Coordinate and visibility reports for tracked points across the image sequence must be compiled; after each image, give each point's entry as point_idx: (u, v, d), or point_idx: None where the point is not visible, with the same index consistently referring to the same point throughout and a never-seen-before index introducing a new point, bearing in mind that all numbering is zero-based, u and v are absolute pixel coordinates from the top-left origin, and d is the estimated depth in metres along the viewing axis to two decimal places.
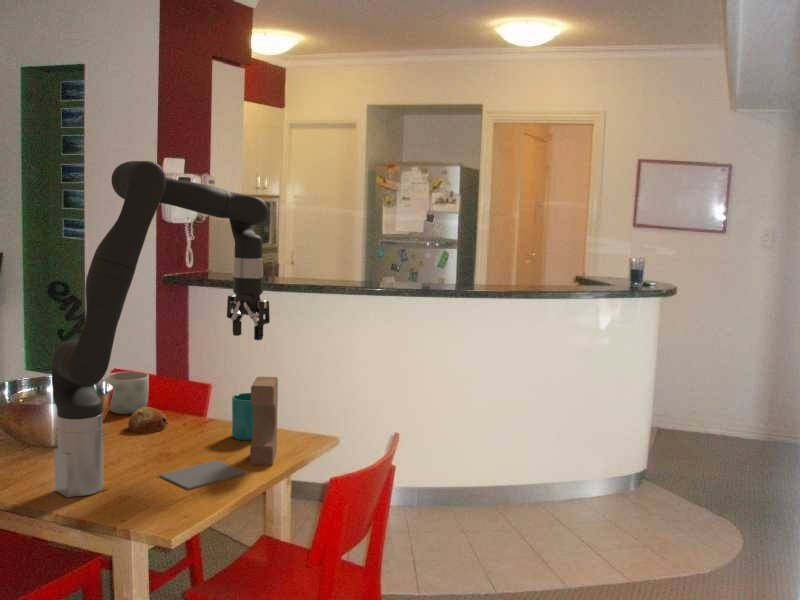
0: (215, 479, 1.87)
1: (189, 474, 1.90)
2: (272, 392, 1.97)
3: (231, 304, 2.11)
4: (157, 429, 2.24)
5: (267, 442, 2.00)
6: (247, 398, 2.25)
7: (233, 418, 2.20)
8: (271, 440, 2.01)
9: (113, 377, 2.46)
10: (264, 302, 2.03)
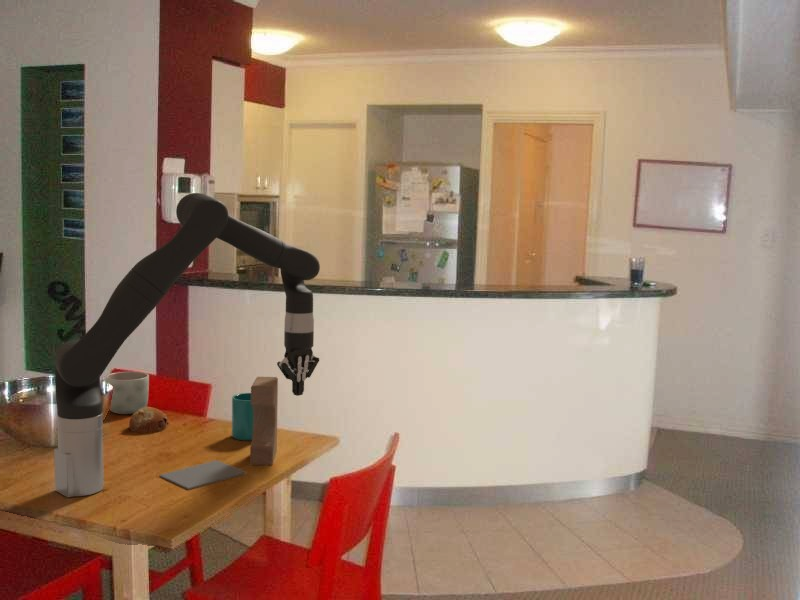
0: (215, 479, 1.87)
1: (189, 474, 1.90)
2: (272, 392, 1.97)
3: None
4: (158, 429, 2.25)
5: (267, 442, 2.00)
6: (247, 398, 2.25)
7: (233, 418, 2.20)
8: (271, 440, 2.01)
9: (113, 377, 2.46)
10: None
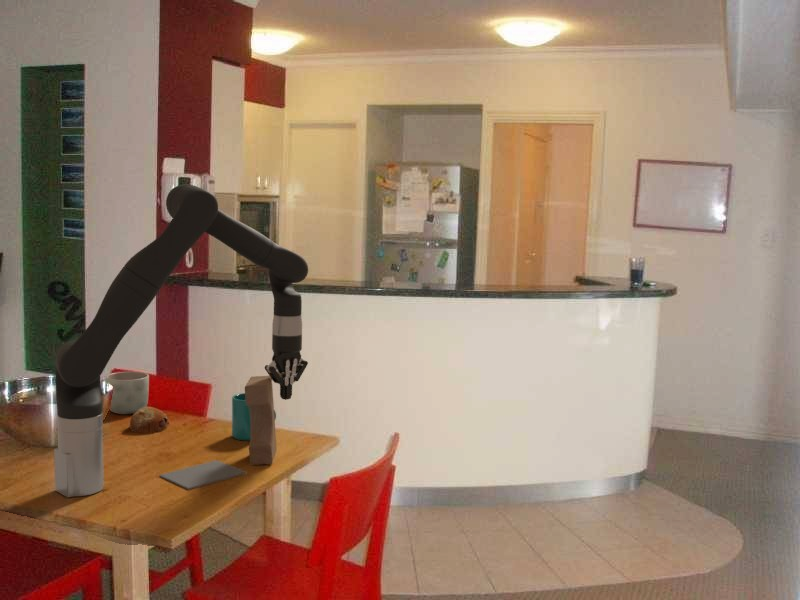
0: (215, 479, 1.87)
1: (189, 474, 1.90)
2: (266, 390, 1.97)
3: None
4: (158, 429, 2.25)
5: (265, 441, 2.00)
6: None
7: (233, 418, 2.20)
8: (269, 439, 2.01)
9: (113, 377, 2.46)
10: None
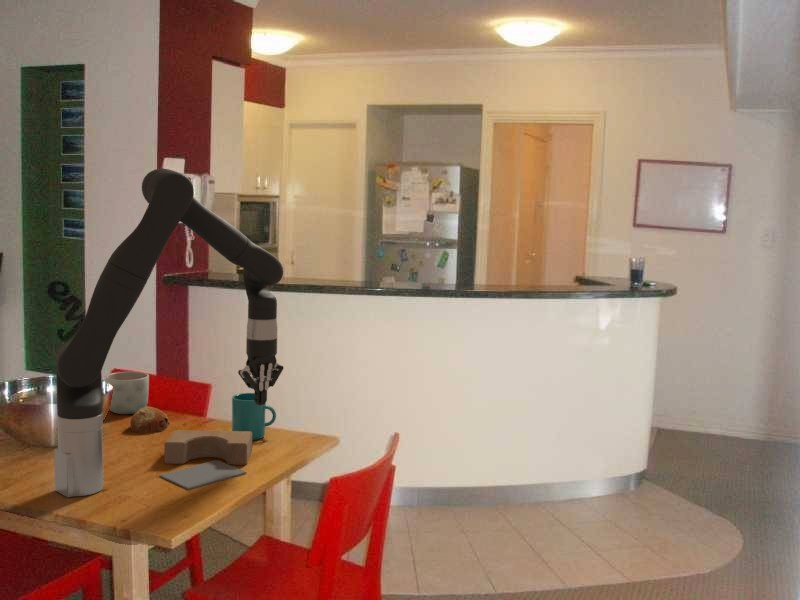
0: (215, 479, 1.87)
1: (189, 474, 1.90)
2: (170, 443, 1.97)
3: None
4: (159, 429, 2.25)
5: (226, 446, 2.00)
6: (247, 398, 2.25)
7: (233, 418, 2.20)
8: (225, 442, 2.01)
9: (113, 377, 2.46)
10: None
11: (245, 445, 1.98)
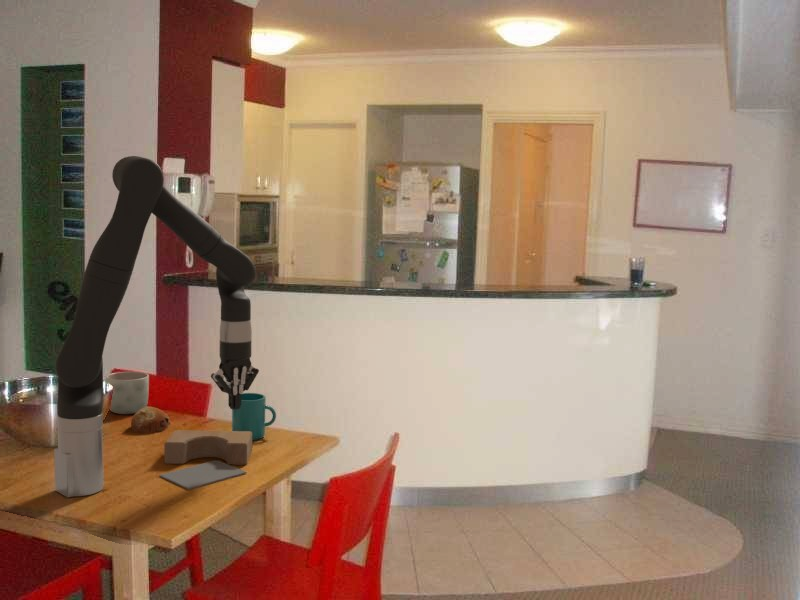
0: (215, 479, 1.87)
1: (189, 474, 1.90)
2: (170, 443, 1.97)
3: None
4: (160, 429, 2.25)
5: (226, 446, 2.00)
6: (247, 398, 2.25)
7: (233, 418, 2.20)
8: (225, 442, 2.01)
9: (113, 377, 2.46)
10: None
11: (245, 445, 1.98)
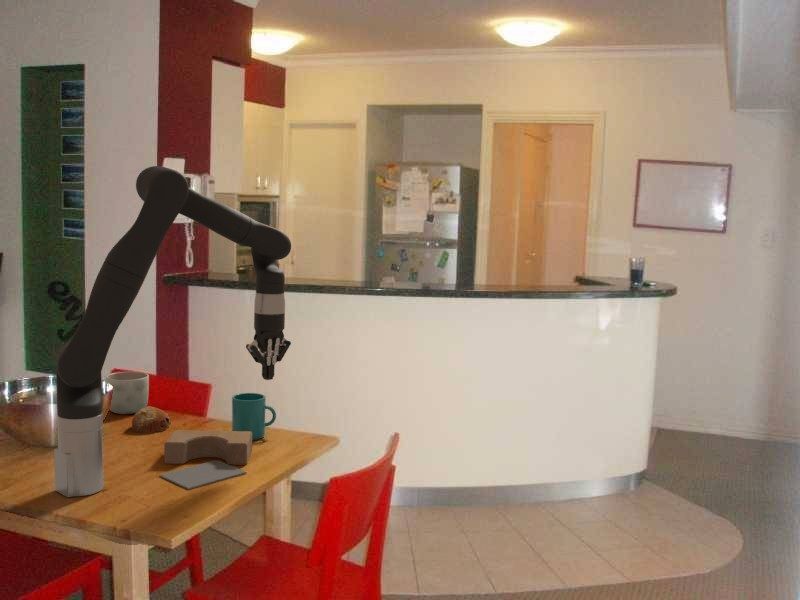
0: (215, 479, 1.87)
1: (189, 474, 1.90)
2: (170, 443, 1.97)
3: None
4: (160, 429, 2.25)
5: (226, 446, 2.00)
6: (247, 398, 2.25)
7: (233, 418, 2.20)
8: (225, 442, 2.01)
9: (113, 377, 2.46)
10: None
11: (245, 445, 1.98)
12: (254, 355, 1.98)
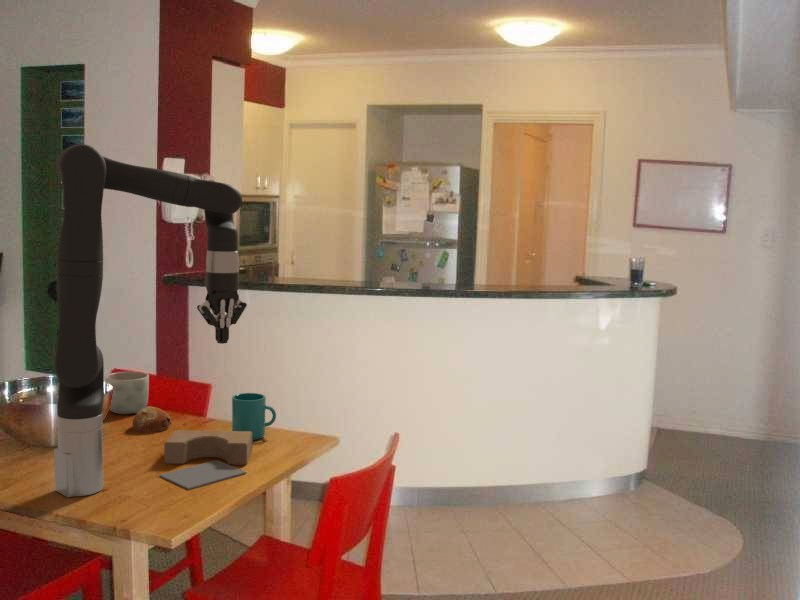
0: (215, 479, 1.87)
1: (189, 474, 1.90)
2: (170, 443, 1.97)
3: None
4: (161, 429, 2.25)
5: (226, 446, 2.00)
6: (247, 398, 2.25)
7: (233, 418, 2.20)
8: (225, 442, 2.01)
9: (113, 377, 2.46)
10: None
11: (245, 445, 1.98)
12: (206, 317, 1.87)
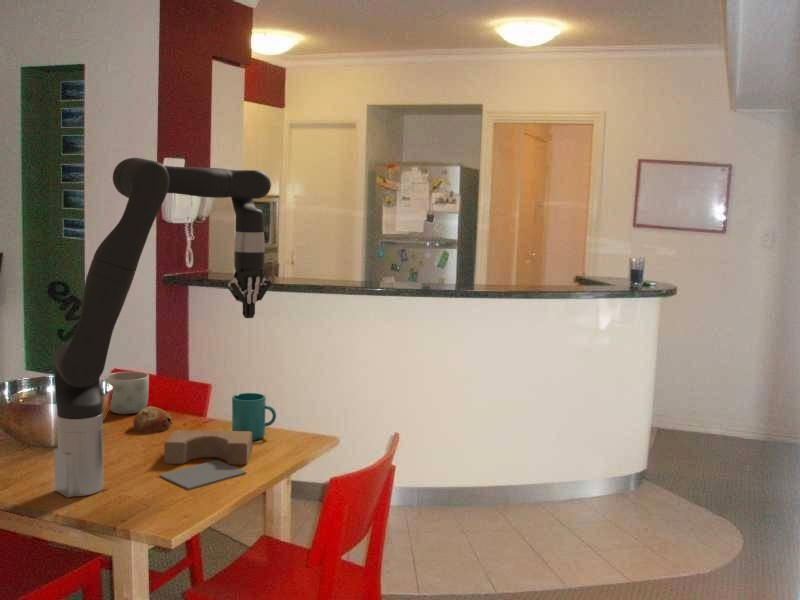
0: (215, 479, 1.87)
1: (189, 474, 1.90)
2: (170, 443, 1.97)
3: None
4: (162, 429, 2.25)
5: (226, 446, 2.00)
6: (247, 398, 2.25)
7: (233, 418, 2.20)
8: (225, 442, 2.01)
9: (113, 377, 2.46)
10: None
11: (245, 445, 1.98)
12: (234, 293, 2.02)
